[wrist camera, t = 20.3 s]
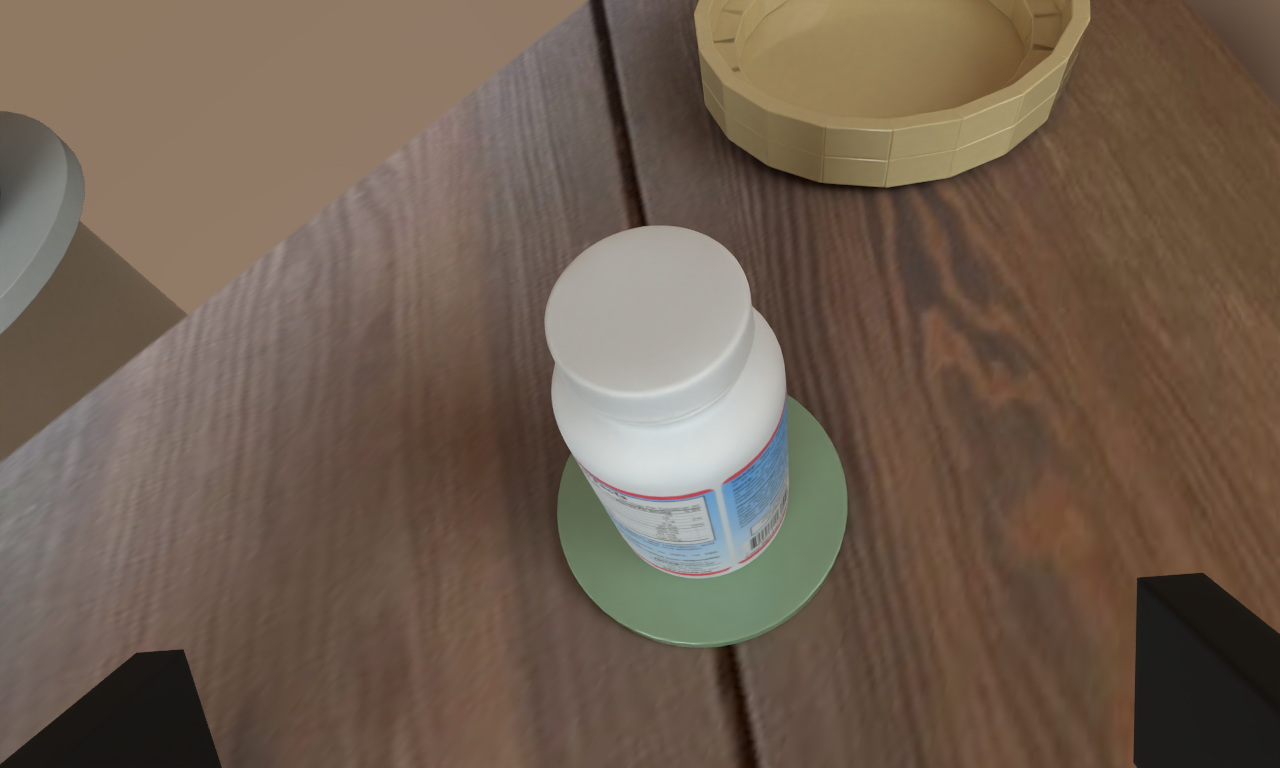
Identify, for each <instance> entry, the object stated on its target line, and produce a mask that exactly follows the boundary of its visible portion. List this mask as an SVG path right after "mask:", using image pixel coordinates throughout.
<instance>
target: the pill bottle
mask: <svg viewBox="0 0 1280 768" xmlns="http://www.w3.org/2000/svg"><path fill="white" fill-rule="evenodd" d="M545 333H546V339H547V343H548V346H549V349H550V352H551V354H552V357H553V359H554V361H555V366H554V371H553V377H552V389H551V394H552V405H553V411H554V415H555V418H556V422H557V424H558V427H559V430H560V432H561V434H562V436H563V439H564V440H565V442H566V444H567V446H568V448H569V449H570V451H571V453H572V454H573V456H574V458H575V459H576V461H577V463H578V465H579V466H580V468H581V469H582V471H583V473H584V474H585V476H586V478H587V480H588V481H589V483H590V484H591V486H592V488H593V490H594V491H595V493H596V495H597V496H598V498H599V499H600V501H601V503H602V504H603V506H604V508H605V509H606V511H607V513H608V514H609V516H610V518H611V519H612V521H613V522H614V524H615V525H616V527H617V529H618V530H619V532H620V534H621V535H622V537H623V538H624V540H625V541H626V542H627V543H628V545H629V546H630V547H631V548H632V549H633V551H634V552H635V553H636V554H637V555H638V556H639V557H640V558H642V559H643V560H644V561H646V562H647V563H648V564H650V565H651V566H653V567H655V568H657V569H659V570H661V571H663V572H666V573H668V574H671V575H675V576H679V577H684V578H695V579H700V578H711V577H717V576H721V575H724V574H728V573H731V572H733V571H735V570H738V569H740V568H742V567H744V566H745V565H747V564H749V563H750V562H752V561H753V560H754V559H756V558H757V557H758V556H759V555H760V554H762V553H763V552H764V550H765V549H766V548H767V547H768V546H769V545H770V544H771V542H772V541H773V540H774V538H775V537H776V535H777V533H778V531H779V530H780V527H781V525H782V523H783V521H784V518H785V514H786V510H787V505H788V498H789V464H788V435H787V391H786V376H785V366H784V360H783V356H782V352H781V348H780V346H779V343H778V341H777V339H776V336H775V334H774V333H773V331H772V329H771V328H770V326H769V325H768V323H767V322H766V320H765V319H764V318H763V316H762V315H761V314H760V313H759V312H758V311H757V310H756V309H755V308H754V307H753V306H752V303H751V295H750V289H749V285H748V282H747V279H746V276H745V274H744V272H743V270H742V268H741V266H740V265H739V263H738V261H737V260H736V258H735V257H734V256H733V255H732V254H731V253H730V252H729V251H728V250H727V249H726V248H725V247H724V246H722V245H721V244H720V243H718V242H717V241H715V240H714V239H712V238H710V237H708V236H706V235H704V234H701V233H699V232H696V231H693V230H689V229H686V228H681V227H674V226H644V227H639V228H634V229H630V230H626V231H623V232H619V233H616V234H613V235H611V236H609V237H607V238H604V239H602V240H601V241H599V242H597V243H596V244H594V245H592V246H591V247H589V248H588V249H586V250H585V251H584V252H582V253H581V254H580V255H579V256H577V257H576V258H575V259H574V260H573V261H572V262H571V263H570V264H569V265H568V266H567V268H566V269H565V270H564V271H563V272H562V274H561V275H560V277H559V278H558V280H557V282H556V283H555V285H554V287H553V289H552V292H551V294H550V296H549V299H548V303H547V307H546V312H545Z"/></svg>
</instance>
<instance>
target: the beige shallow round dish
mask: <svg viewBox="0 0 1280 768" xmlns="http://www.w3.org/2000/svg"><path fill="white" fill-rule="evenodd" d="M1089 22H1090V0H699V1H698V4H697V7H696V9H695V12H694V23H695V31H696V40H697V48H698V57H699V65H700V74H701V81H702V88H703V95H704V102H705V105H706V107H707V109H708V110H709V111H710V113H711V114H712V116H713V117H714V119H715V120H716V122H717V123H718V125H719V126H720V128H721V129H722V131H723V132H724V134H725V135H726V136H727V138H728V139H729V140H730V141H732V142H733V143H735V144H736V145H738V146H739V147H741V148H742V149H744V150H745V151H746V152H748V153H749V154H751V155H752V156H754V157H755V158H757V159H758V160H760V161H761V162H763V163H764V164H765V165H768V166H769V167H772V168H775V169H779V170H782V171H785V172H788V173H791V174H794V175H797V176H800V177H804V178H807V179H810V180H813V181H816V182H819V183H822V182H823V183H828V184H842V185H856V186H870V187H884V186H885V188H887V187H893V186H900V185H906V184H913V183H919V182H926V181H932V180H939V179H945V178H948V177H949V178H950V177H952V176H955V175H957V174H960V173H962V172H964V171H967V170H969V169H972V168H974V167H976V166H979V165H981V164H984V163H986V162H989V161H991V160H993V159H996V158H998V157H1001V156H1003V155H1004V154H1006V153H1008V152H1009V151H1010V150H1011V149H1012V148H1014V147H1015V146H1016V145H1017V144H1019V143H1020V142H1021V141H1022V140H1024V139H1025V138H1026V137H1027V136H1028V135H1030V134H1031V133H1032V132H1033V131H1035V130H1036V129H1037V128H1038V127H1039V126H1041V125H1042V124H1043V123H1044V122H1046V121H1047V119H1048V117H1049V115H1050V113H1051V112H1052V110H1053V108H1054V106H1055V104H1056V102H1057V101H1058V99H1059V97H1060V95H1061V93H1062V92H1063V90H1064V88H1065V86H1066V84H1067V82H1068V79H1069V77H1070V74H1071V71H1072V68H1073V66H1074V63H1075V60H1076V58H1077V55H1078V52H1079V49H1080V46H1081V44H1082V41H1083V38H1084V36H1085V33H1086V30H1087V27H1088V25H1089Z"/></svg>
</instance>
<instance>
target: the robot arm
mask: <svg viewBox="0 0 1280 768" xmlns="http://www.w3.org/2000/svg"><path fill="white" fill-rule="evenodd" d="M0 196H1V189H0ZM1133 762H1134V764H1135V765H1136V766H1137V768H1280V634H1279V633H1277V632H1276V631H1275V630H1274V629H1272V628H1271V627H1270V626H1269V625H1267V624H1266V623H1265V622H1264V621H1262V620H1261V619H1260V618H1259V617H1257V616H1256V615H1255V614H1254V613H1252V612H1251V611H1250V610H1249V609H1247V608H1246V607H1245V606H1244V605H1242V604H1241V603H1240V602H1239V601H1238V600H1236V599H1235V598H1234V597H1233V596H1231V595H1230V594H1229V593H1228V592H1226V591H1225V590H1224V589H1223V588H1221V587H1220V586H1219V585H1218V584H1216V583H1215V582H1214V581H1213V580H1211V579H1210V578H1209V577H1208V576H1206V575H1205V574H1204V573H1194V574H1181V575H1168V576H1154V577H1141V578H1137V617H1136V665H1135V713H1134V761H1133ZM0 768H222V767H221V764H220V761H219V758H218V755H217V752H216V749H215V745H214V742H213V739H212V736H211V733H210V730H209V727H208V724H207V721H206V718H205V714H204V711H203V708H202V705H201V702H200V699H199V696H198V693H197V690H196V687H195V683H194V680H193V677H192V674H191V671H190V668H189V665H188V662H187V659H186V656H185V653H184V649H182V650H169V651H155V652H142V653H136V654H134V655H133V656H132V657H131V658H129V659H128V660H127V661H126V662H125V663H123V664H122V665H121V666H120V667H118V668H117V669H116V670H115V671H114V672H112V673H111V674H110V675H109V676H108V677H106V678H105V679H104V680H103V681H101V682H100V683H99V684H98V685H97V686H95V687H94V688H93V689H92V690H90V691H89V692H88V693H87V694H86V695H84V696H83V697H82V698H81V699H79V700H78V701H77V702H76V703H75V704H73V705H72V706H71V707H70V708H68V709H67V710H66V711H65V712H64V713H62V714H61V715H60V716H59V717H58V718H56V719H55V720H54V721H53V722H51V723H50V724H49V725H48V726H47V727H45V728H44V729H43V730H42V731H40V732H39V733H38V734H37V735H36V736H34V737H33V738H32V739H31V740H29V741H28V742H27V743H26V744H25V745H23V746H22V747H21V748H20V749H19V750H17V751H16V752H15V753H14V754H12V755H11V756H10V757H9V758H8V759H6V760H5V761H4V762H3V763H1V764H0Z"/></svg>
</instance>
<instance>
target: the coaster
mask: <svg viewBox="0 0 1280 768" xmlns="http://www.w3.org/2000/svg"><path fill="white" fill-rule="evenodd" d="M787 435H788V464H789V498H788V505H787V510H786V514H785V518H784V521H783V523H782V525H781V527H780V530H779V531H778V533H777V535H776V537H775V538H774V540H773V541H772V542H771V544H770V545H769V546H768V547H767V548H766V549H765V550H764V552H763V553H762V554H760V555H759V556H758V557H757V558H756V559H754V560H753V561H752V562H750V563H749V564H747V565H745V566H744V567H742V568H740V569H738V570H735V571H733V572H731V573H728V574H724V575H721V576H717V577H711V578H700V579H695V578H684V577H679V576H675V575H671V574H668V573H666V572H663V571H661V570H659V569H657V568H655V567H653V566H651V565H650V564H648V563H647V562H646V561H644V560H643V559H642V558H640V557H639V556H638V555H637V554H636V553H635V552H634V551H633V549H632V548H631V547H630V546H629V545H628V543H627V542H626V541H625V540H624V538H623V537H622V535H621V534H620V532H619V530H618V529H617V527H616V525H615V524H614V522H613V521H612V519H611V518H610V516H609V514H608V513H607V511H606V509H605V508H604V506H603V504H602V503H601V501H600V499H599V498H598V496H597V495H596V493H595V491H594V490H593V488H592V486H591V484H590V483H589V481H588V480H587V478H586V476H585V474H584V473H583V471H582V469H581V468H580V466H579V465H578V463H577V461H576V459H575V458H574V456H573V454H572V453H571V454H570V456H569V458H568V460H567V462H566V465H565V468H564V471H563V474H562V478H561V481H560V487H559V492H558V502H557V521H558V532H559V536H560V540H561V545H562V549H563V552H564V554H565V557H566V559H567V562H568V565H569V567H570V569H571V570H572V572H573V574H574V576H575V578H576V579H577V581H578V583H579V584H580V585H581V587H582V588H583V589H584V591H585V592H586V593H587V595H588V596H589V597H590V598H591V600H592V601H593V602H594V603H595V604H596V605H597V606H598V607H599V608H600V609H601V610H602V611H603V612H604V613H605V614H607V615H608V616H609V617H611V618H612V619H613V620H615V621H616V622H618V623H619V624H620V625H622V626H624V627H625V628H627V629H629V630H631V631H633V632H635V633H636V634H638V635H641V636H643V637H646V638H649V639H651V640H654V641H657V642H661V643H665V644H670V645H674V646H681V647H692V648H706V647H720V646H725V645H731V644H736V643H740V642H743V641H746V640H749V639H752V638H755V637H758V636H760V635H762V634H764V633H766V632H768V631H770V630H772V629H774V628H776V627H778V626H779V625H781V624H782V623H784V622H785V621H787V620H788V619H790V618H791V617H793V616H794V615H795V614H796V613H797V612H798V611H800V610H801V609H802V608H803V607H804V606H805V605H806V604H807V603H808V602H809V601H810V600H811V599H812V598H813V596H814V595H815V594H816V593H817V592H818V591H819V589H820V588H821V587H822V585H823V584H824V582H825V580H826V579H827V577H828V576H829V574H830V572H831V571H832V569H833V566H834V564H835V562H836V560H837V557H838V555H839V553H840V549H841V546H842V542H843V538H844V535H845V529H846V521H847V513H848V494H847V487H846V480H845V475H844V471H843V468H842V465H841V462H840V458H839V456H838V454H837V452H836V450H835V447H834V445H833V443H832V441H831V440H830V438H829V437H828V435H827V434H826V432H825V430H824V429H823V427H822V426H821V425H820V424H819V423H818V421H817V420H816V419H815V418H814V417H813V416H812V414H811V413H810V412H809V411H807V410H806V409H805V408H804V407H803V406H802V405H801V404H800V403H799V402H797V401H796V400H795V399H793V398H792V397H790V396H789V395H787Z"/></svg>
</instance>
